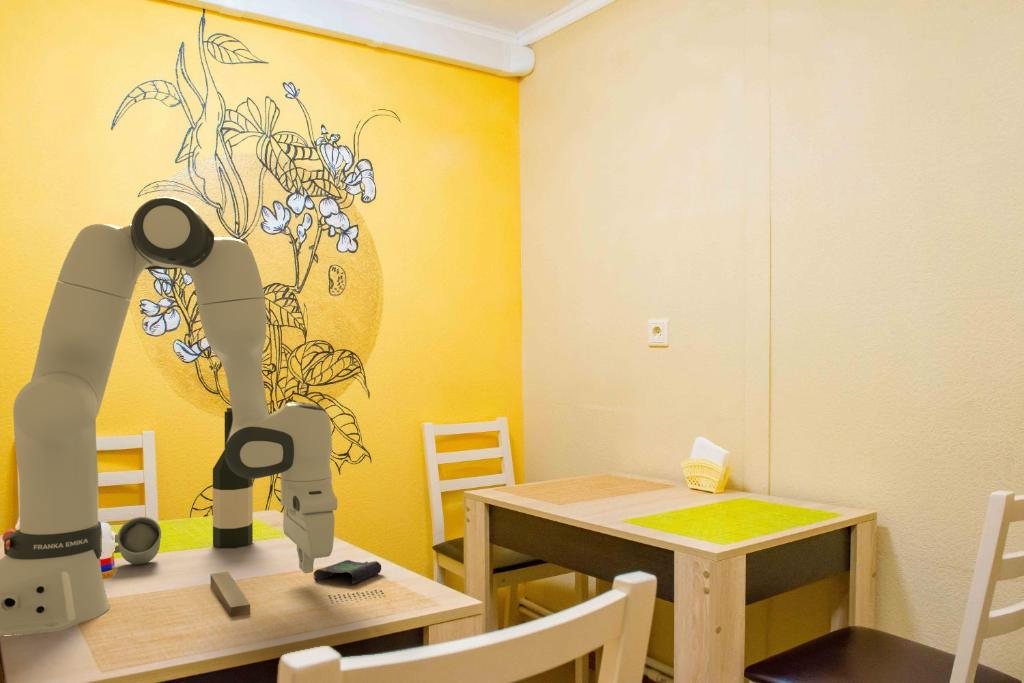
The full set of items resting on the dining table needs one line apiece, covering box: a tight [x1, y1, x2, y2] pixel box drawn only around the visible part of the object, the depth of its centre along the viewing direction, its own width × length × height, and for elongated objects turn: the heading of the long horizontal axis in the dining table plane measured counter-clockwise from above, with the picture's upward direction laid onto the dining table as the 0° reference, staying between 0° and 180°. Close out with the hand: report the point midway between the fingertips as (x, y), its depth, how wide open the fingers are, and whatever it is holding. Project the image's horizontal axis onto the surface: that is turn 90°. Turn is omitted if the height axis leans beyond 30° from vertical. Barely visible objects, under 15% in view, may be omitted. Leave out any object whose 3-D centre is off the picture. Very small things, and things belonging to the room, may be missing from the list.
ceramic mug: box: [113, 516, 162, 566], centre depth 158 cm, size 11×8×8 cm
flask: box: [313, 559, 382, 587], centre depth 148 cm, size 9×3×11 cm
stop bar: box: [210, 571, 251, 618], centre depth 135 cm, size 3×20×3 cm, turn 29°
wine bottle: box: [212, 406, 254, 549], centre depth 175 cm, size 8×8×30 cm
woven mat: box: [328, 589, 386, 604], centre depth 133 cm, size 10×11×2 cm
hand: (306, 570), depth 141 cm, fingers closed
